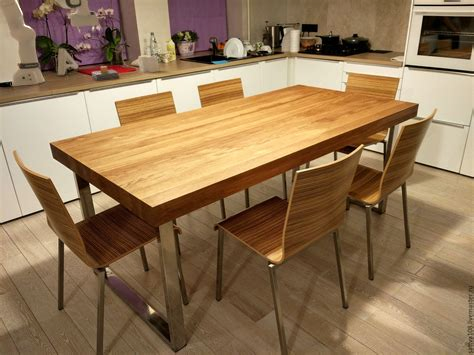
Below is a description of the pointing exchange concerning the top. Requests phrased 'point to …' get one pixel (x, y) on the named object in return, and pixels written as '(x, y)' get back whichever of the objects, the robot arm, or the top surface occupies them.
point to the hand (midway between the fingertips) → (86, 32)
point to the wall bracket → (62, 62)
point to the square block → (104, 69)
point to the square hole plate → (105, 75)
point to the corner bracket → (148, 64)
